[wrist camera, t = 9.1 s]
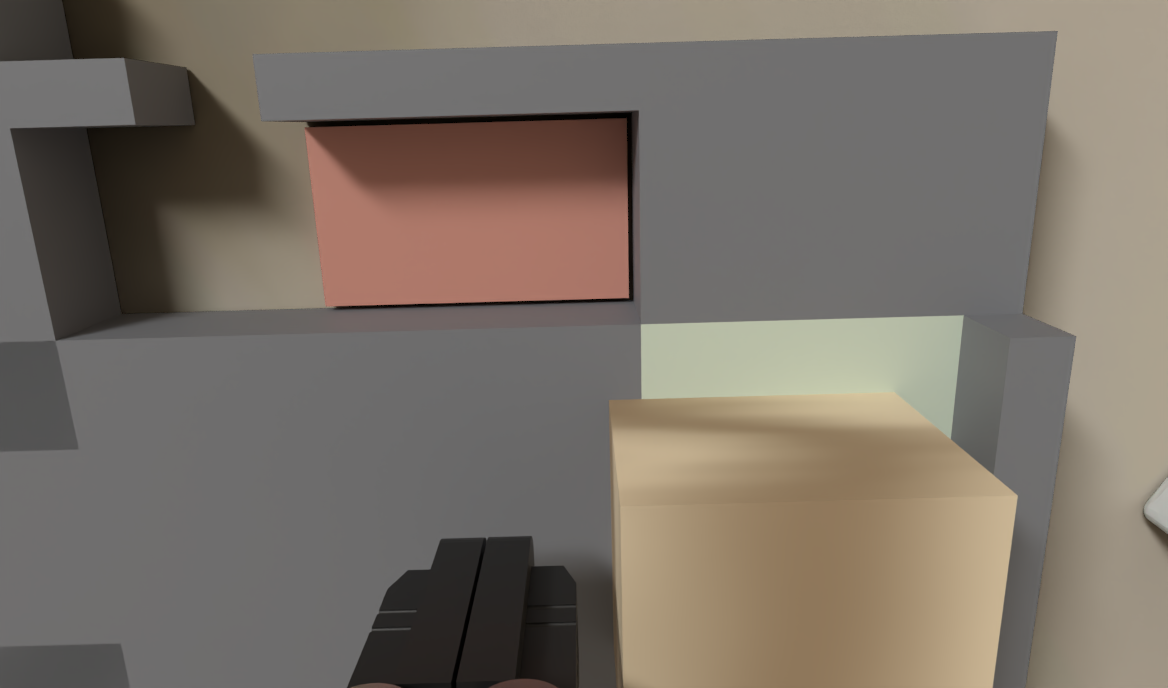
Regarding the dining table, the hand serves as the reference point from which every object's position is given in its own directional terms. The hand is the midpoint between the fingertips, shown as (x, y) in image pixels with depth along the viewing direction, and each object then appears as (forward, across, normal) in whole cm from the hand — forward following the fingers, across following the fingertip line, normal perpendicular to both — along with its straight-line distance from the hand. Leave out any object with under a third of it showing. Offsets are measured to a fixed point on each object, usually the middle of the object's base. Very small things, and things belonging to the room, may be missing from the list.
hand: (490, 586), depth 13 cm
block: (+2, -5, 0) cm, 5 cm away
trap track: (+4, +2, 0) cm, 4 cm away
